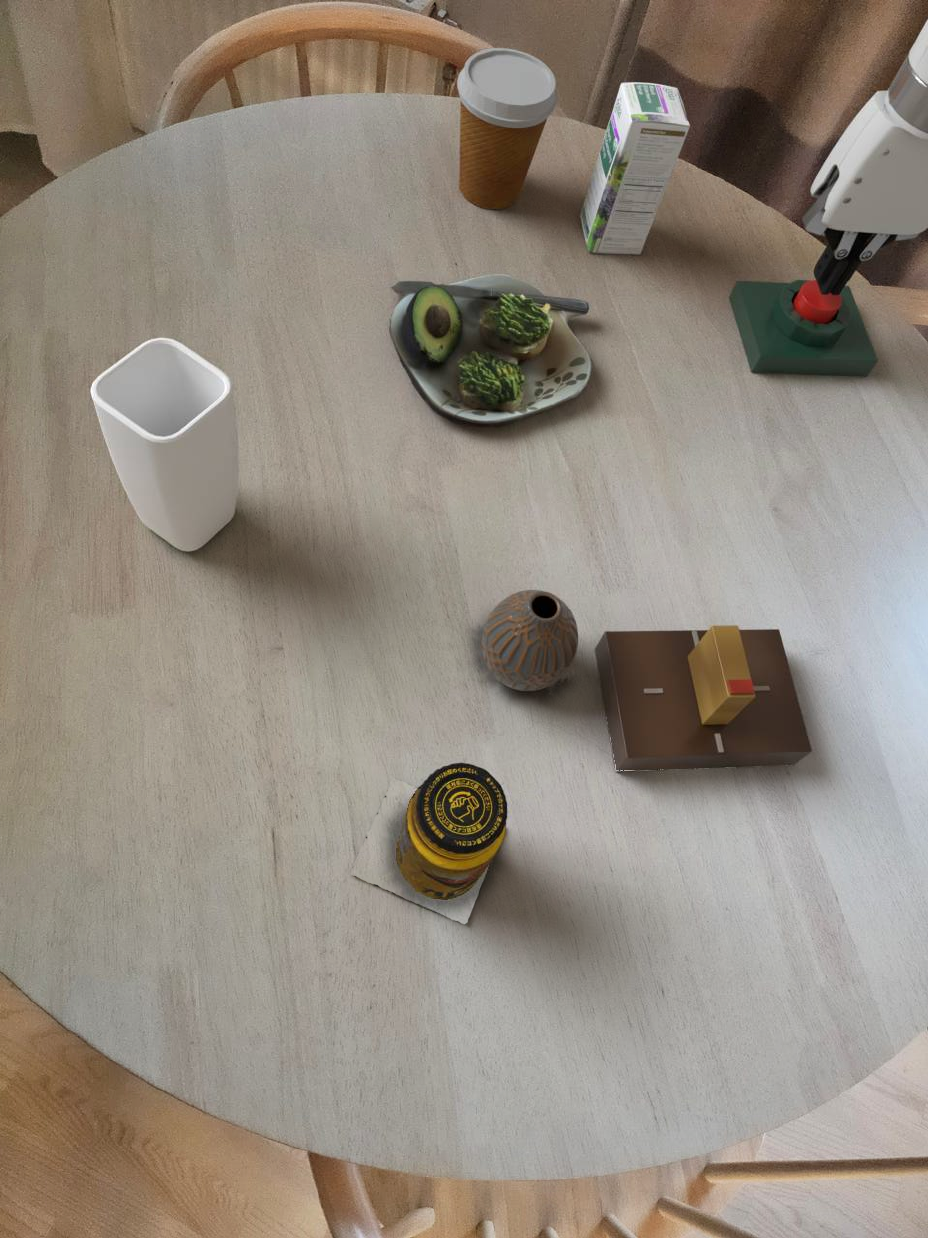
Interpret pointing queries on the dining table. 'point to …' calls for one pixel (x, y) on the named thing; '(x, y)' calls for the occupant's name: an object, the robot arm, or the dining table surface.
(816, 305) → the round red push button
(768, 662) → the plate
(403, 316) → the avocado toast plate
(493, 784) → the condiment
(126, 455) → the cup
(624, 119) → the syrup box
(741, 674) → the thumbturn
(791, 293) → the green button box
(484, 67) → the disposable coffee cup
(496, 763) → the dining table surface
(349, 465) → the dining table surface
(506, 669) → the vase
